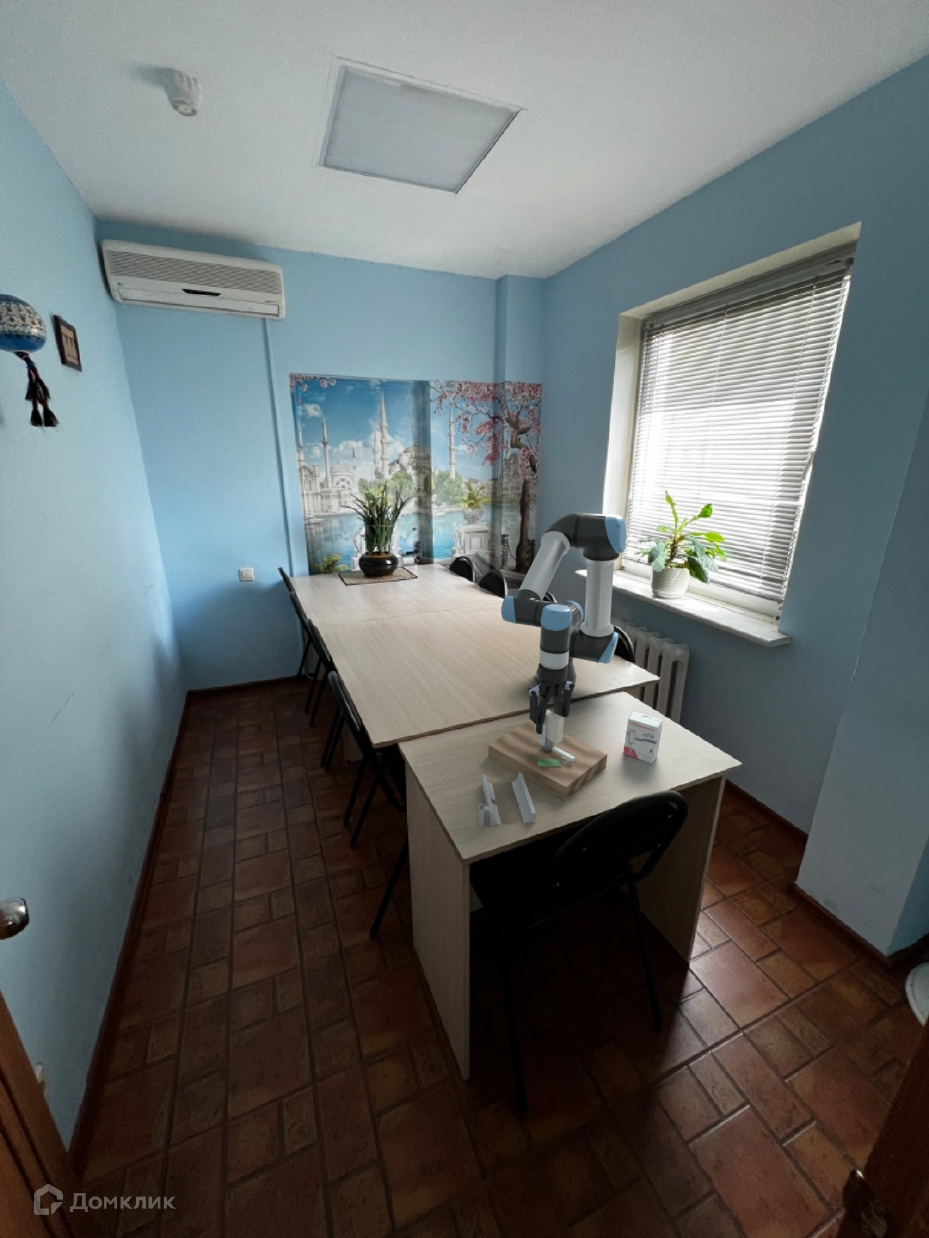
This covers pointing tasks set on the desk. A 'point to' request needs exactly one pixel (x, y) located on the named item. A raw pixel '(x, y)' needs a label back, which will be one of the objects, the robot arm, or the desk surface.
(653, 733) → the ink box
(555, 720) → the white piece
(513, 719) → the desk surface
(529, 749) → the brown wavy board
